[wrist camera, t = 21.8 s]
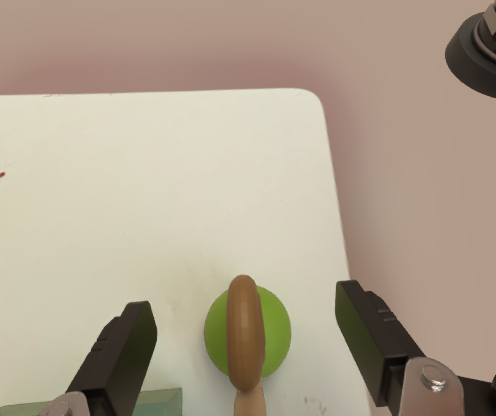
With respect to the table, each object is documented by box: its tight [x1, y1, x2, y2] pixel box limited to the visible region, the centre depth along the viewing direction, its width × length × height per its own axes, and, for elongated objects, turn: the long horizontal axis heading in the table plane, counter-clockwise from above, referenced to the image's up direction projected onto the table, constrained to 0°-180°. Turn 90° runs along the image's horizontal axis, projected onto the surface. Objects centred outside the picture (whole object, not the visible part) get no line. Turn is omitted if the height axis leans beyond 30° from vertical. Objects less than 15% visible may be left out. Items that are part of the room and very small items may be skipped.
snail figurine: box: [204, 275, 291, 416], centre depth 13 cm, size 5×6×12 cm
